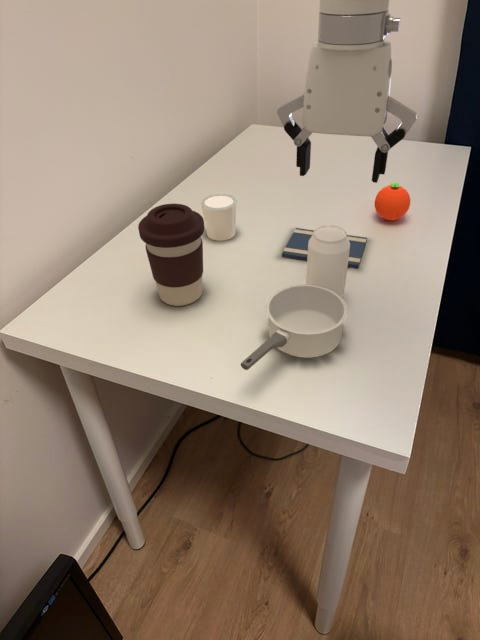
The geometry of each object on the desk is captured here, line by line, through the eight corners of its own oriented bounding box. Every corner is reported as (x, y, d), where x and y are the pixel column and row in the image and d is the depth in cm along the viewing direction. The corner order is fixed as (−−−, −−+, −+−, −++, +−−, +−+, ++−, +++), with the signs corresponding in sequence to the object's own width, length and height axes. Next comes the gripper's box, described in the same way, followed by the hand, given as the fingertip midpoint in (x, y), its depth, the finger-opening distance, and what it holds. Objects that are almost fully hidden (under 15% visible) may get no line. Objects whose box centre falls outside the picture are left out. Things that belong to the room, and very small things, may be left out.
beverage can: (350, 304, 78) (358, 238, 70) (314, 312, 76) (319, 246, 69) (333, 283, 82) (339, 219, 75) (299, 290, 81) (302, 227, 73)
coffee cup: (220, 299, 80) (214, 217, 70) (165, 319, 76) (150, 236, 67) (195, 271, 87) (186, 193, 77) (143, 288, 83) (127, 208, 74)
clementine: (371, 207, 103) (376, 175, 99) (405, 209, 102) (412, 176, 98) (372, 225, 97) (377, 192, 93) (408, 227, 96) (415, 193, 92)
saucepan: (212, 376, 67) (209, 346, 63) (293, 304, 78) (294, 275, 75) (281, 415, 61) (282, 385, 57) (357, 331, 73) (362, 301, 69)
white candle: (229, 222, 101) (227, 190, 96) (244, 236, 96) (243, 204, 91) (198, 230, 98) (195, 198, 94) (212, 245, 93) (209, 212, 89)
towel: (366, 241, 93) (367, 237, 92) (358, 268, 85) (358, 264, 85) (295, 231, 97) (295, 227, 96) (281, 257, 89) (281, 252, 89)
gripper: (433, 24, 55) (408, 170, 66) (286, 24, 60) (285, 160, 71) (430, 36, 50) (403, 193, 60) (269, 35, 55) (270, 180, 65)
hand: (339, 175), depth 66 cm, fingers open, 9 cm apart
